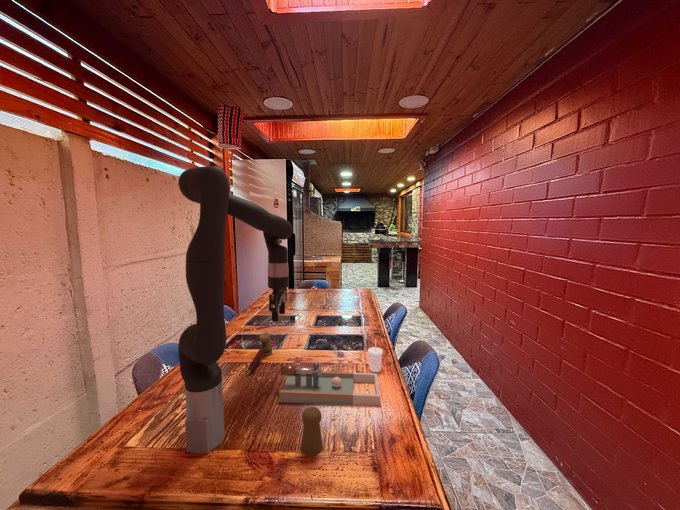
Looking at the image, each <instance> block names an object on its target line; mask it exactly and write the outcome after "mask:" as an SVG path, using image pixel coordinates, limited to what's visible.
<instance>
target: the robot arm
mask: <svg viewBox="0 0 680 510" xmlns="http://www.w3.org/2000/svg"><path fill="white" fill-rule="evenodd" d="M178 189H179V190H180V193H181V194H182V195H183V196H184V198H186V199H188V201H190V202H193V203H196V204H199V219H198V224H197V227H196V229H195V232H194V234H193V235H192V238H191V240H190V241H189V244H188V247H187V251H186V254H185V281H186V285H187V288H188V292H189V295H190V296H191V299H192V302H193V305H194V309H195V315H196V317H195V318H196V320H195V321H196V323H193V324H191V325H189V326H187V327H186V328H185V329H184V330H183V331H182V333H181V335H180V337H179V339H178V346H177V347H178V348H177V349H178V361H179V370H180V376H181V378H182V380H183V383H184V392H185V393H184V394H185V395H184V396H185V411H186V412H185V413H186V416H185V417H186V418H185V419H184V427H185V428H184V429H185V443H186V453H189V452H190V454H192V453H194V454H207V453H208V454H210V453H211V452H212V450H214V449H215V448H217V447H218V446H220V445H221V443H222V442H223V440H224V439H225V434H226V433H225V417H224V416H225V415H224V413H225V412H224V410H225V409H224V394H223V393H224V392H223V390H224V389H223V388H224V387H223V371H222V368H221V367H220V365H219V364H218V361H219V360H220V359H221V358H222V356H223V354H224V352H225V350H226V346H227V345H226V344H227V330H226V320H225V270H226V269H225V267H226V266H225V265H226V264H225V263H226V261H225V260H226V258H225V257H226V256H225V255H226V254H225V249H226V248H225V247H226V246H225V245H226V225H227V217H228V216H230V217H233V218H235V219H237V220H239V221H241V222H243V223H245V224H246V225H248V226H250V227H251V228H253V229H255V230H257V231H261V232H262V235H263V238H264V242H265V246H266V248H267V252H268V254H267V258H268V259H267V260H268V262H267V288H268V289H270V290H272V292H271V293H269V295H268V311H269V312H271V322H274V323H277V322H279V315H285V313H286V304H287V301H288V289H287V288H289V286H290V282H289V281H290V280H289V279H290V278H289V277H290V276H289V273H290V271H289V270H290V269H289V258H288V257H289V252H288V251H289V250H288V248H287V246H284V245H282V244H281V243H280V241H279V240H282V241H283V240H288V239H289V238H291V237H292V235H293V230H294V229H293V225H292V224H291V222H290V221H289V220H287V219H285V218H284V217H281V216H279V215H278V214H277V215H276V214H274V213H271V212H269V211H268V210H267V209H265V208H264V207H262V206H260V205H259V204H257V203H255V202H253V201H251V200H248V199H245V198H242V197H239V196H237V195H235V194H233V193H230V191H231V187H230V180H229V178H228V175H227V173H226V172H225V170H223V169H222V168H221V167H219V166H216V165H206V166H198V167H191V168H188V169H186V170H184V171H182V173H180V175H179V178H178Z"/></svg>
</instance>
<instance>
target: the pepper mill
mask: <svg viewBox="0 0 680 510" xmlns="http://www.w3.org/2000/svg"><path fill="white" fill-rule="evenodd" d="M301 420H302V423H303V430H302V435H301V436H302V437H301V443H300V445H301V446H300V450H301V453H302V454H304V455H305V456H308V457H314V456H317V455H319V454H320V453H321V452H322V450H323V446H324V445H323V439H322V430H321V421H322V412H321V410H320V409H319V408H318V407H315V406H309V407H306V408H305V409H304V410H303V412H302V415H301Z"/></svg>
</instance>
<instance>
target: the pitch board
mask: <svg viewBox="0 0 680 510" xmlns="http://www.w3.org/2000/svg"><path fill="white" fill-rule="evenodd" d="M334 377H339V378H340V379H341V385H340V386H339V387H334V386H333V385H332V379H333V378H334ZM354 383H366V384H367V383H369V384H370V383H371V384H372V383H373V384H374V392H375V394H374V393H354ZM379 385H380V384H379V380H378V373H376V372H374V373H373V372H372V373H371V372H370V373H369V372H345V371H344V372H343V371H323V370H322V375H319V384H318V387H313V375H302V374H295V376H287V377H286V381H285V383H284V385H283V387H282V389H281V390H279V393H278V395H279V396H278V398H279V399H278V400H279V401H278V402H279V403H288V404H289V403H290V404H316V405H317V404H318V405H319V404H321V405H323V404H324V405H326V404H327V405H351V406H352V405H355V406H357V405H358V406H360V405H361V406H381V393H380V392H381V391H380V386H379Z"/></svg>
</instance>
